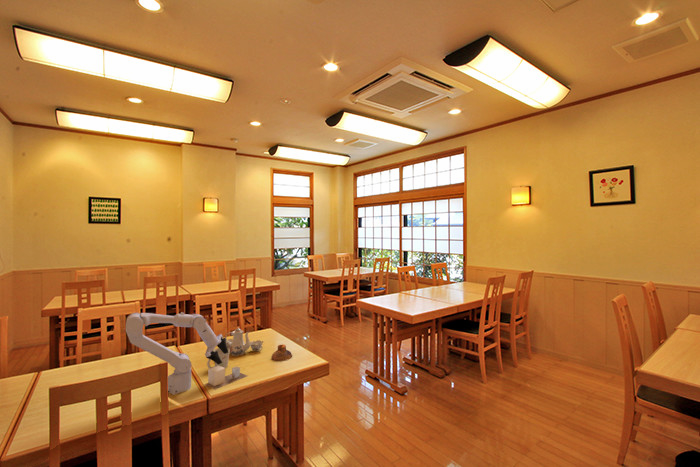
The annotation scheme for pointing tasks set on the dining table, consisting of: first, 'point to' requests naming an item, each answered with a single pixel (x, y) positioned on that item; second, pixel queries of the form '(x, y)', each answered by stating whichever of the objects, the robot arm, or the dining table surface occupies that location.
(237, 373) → the post
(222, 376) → the tan rectangular block
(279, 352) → the bell
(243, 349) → the chinaware
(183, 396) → the dining table surface
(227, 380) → the stand
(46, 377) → the dining table surface
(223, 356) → the mug
